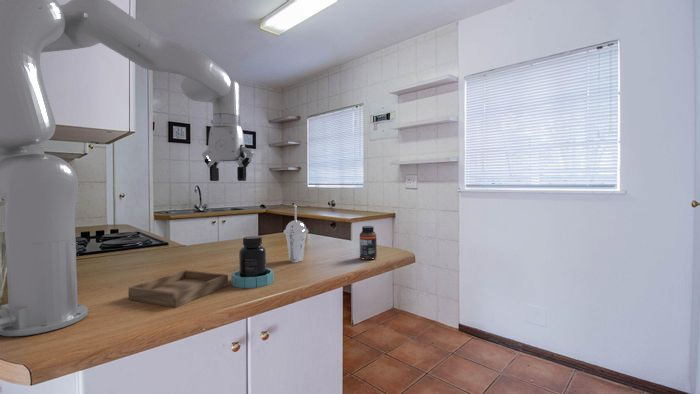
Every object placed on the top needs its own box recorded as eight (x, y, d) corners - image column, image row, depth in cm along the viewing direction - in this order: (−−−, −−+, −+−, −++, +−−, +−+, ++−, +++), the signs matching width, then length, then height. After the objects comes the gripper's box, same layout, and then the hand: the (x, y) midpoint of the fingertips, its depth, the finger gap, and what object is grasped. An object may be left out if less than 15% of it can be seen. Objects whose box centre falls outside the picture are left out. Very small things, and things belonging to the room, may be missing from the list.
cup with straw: (313, 259, 114) (313, 201, 113) (298, 265, 106) (298, 203, 105) (293, 257, 118) (293, 201, 117) (277, 262, 110) (276, 202, 109)
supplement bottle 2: (368, 255, 120) (368, 225, 119) (380, 258, 115) (380, 226, 115) (356, 258, 116) (356, 226, 116) (367, 261, 112) (367, 228, 111)
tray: (176, 307, 70) (175, 294, 70) (128, 299, 74) (128, 287, 74) (228, 285, 85) (227, 274, 85) (185, 280, 89) (185, 270, 89)
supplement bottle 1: (271, 280, 90) (271, 236, 89) (254, 287, 83) (253, 240, 83) (251, 277, 93) (251, 234, 92) (233, 283, 86) (233, 238, 86)
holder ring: (257, 289, 81) (257, 279, 81) (223, 285, 85) (222, 275, 85) (280, 278, 91) (280, 269, 91) (248, 274, 95) (248, 266, 95)
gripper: (193, 122, 96) (194, 181, 97) (244, 118, 91) (245, 180, 92) (211, 126, 103) (212, 181, 104) (259, 123, 98) (260, 180, 99)
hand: (227, 180), depth 98 cm, fingers open, 9 cm apart
